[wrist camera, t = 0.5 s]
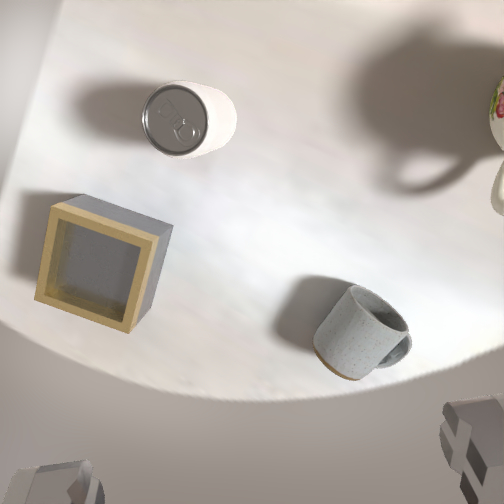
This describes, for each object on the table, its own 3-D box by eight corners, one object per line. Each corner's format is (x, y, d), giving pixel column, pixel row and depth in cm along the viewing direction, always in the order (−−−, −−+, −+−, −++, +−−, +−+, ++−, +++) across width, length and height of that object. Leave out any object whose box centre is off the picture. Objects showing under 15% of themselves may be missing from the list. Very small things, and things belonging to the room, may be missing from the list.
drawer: (84, 194, 52) (51, 205, 46) (173, 225, 52) (153, 241, 46) (64, 291, 57) (31, 315, 50) (147, 321, 56) (124, 349, 50)
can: (207, 162, 50) (175, 177, 38) (165, 117, 49) (120, 119, 37) (250, 120, 48) (230, 123, 36) (207, 73, 47) (173, 60, 35)
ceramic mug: (307, 329, 54) (307, 364, 47) (346, 275, 51) (353, 302, 44) (382, 374, 54) (393, 415, 47) (425, 322, 52) (444, 357, 45)
